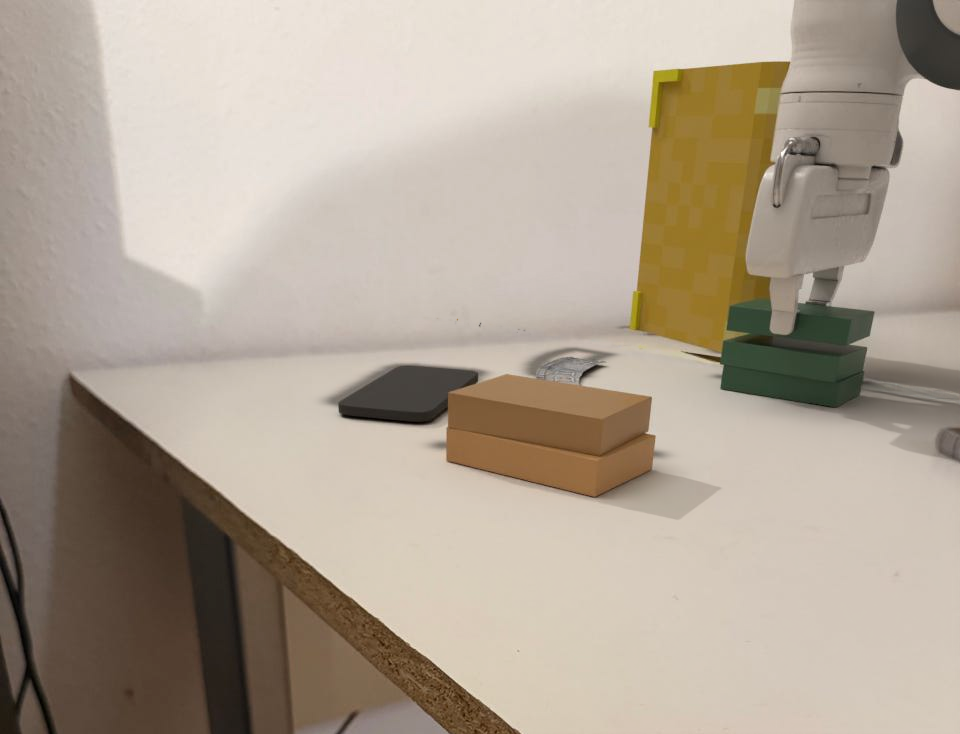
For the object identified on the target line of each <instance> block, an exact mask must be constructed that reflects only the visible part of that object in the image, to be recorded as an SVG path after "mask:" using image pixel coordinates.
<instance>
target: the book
mask: <svg viewBox="0 0 960 734" xmlns="http://www.w3.org/2000/svg"><path fill="white" fill-rule="evenodd" d="M789 66H790V61H781V60H779V61H776V60H775V61H756V62H748V63H747V62H746V63H736V64H735V63H734V64H725V65H723V64H722V65H711V66H702V67H690V68H671V69H660V70H659V69H658V70H653V73H652V86H651V97H650V107H649V119H648V128H651V136H650V146H649V147H650V148H649V159H648V167H647V179H646V189H645V201H644V211H643V221H642V230H641V231H642V232H641V243H640V251H639V261H638V263H639V264H638V275H637V283H636V284H637V285H636V290H633V291H632V299H631V301H632V302H631V310H630V321H629V330H633V331H641V332H645V333H647V334H651V335H655V336H659V337H663V338H665V339H666V338H667V339H670V340H675V341H678V342H682V343H685V344H688V345H692V346H696V347H699V348H703V349H707V350H711V351H714V352H718V353H720V354H721V353H722V346H723V340H727V339H731V338H735V337H738V336H742V335H746V334H750V333H743V332H736V331H728V330H726V328H727V322H728V315H729V308H730V305H734V304H738V303H742V302H746V301H751V300H755V299H759V298H760V299H769V300H771V298H770V290H769V287H770V280H771V277H764V276H756V275H750V274H749V273H748V271H747V267H746V249H747V243H748V238H749V233H750V228H751V222H752V218H753V213H754V208H755V203H756V199H757V195H758V191H759V187H760V184H761V181H762V178H763V175H764V173H765V172H766V170H767V169H768V168H769V167H770V166H772V165H775V163H772V162H771V161H770V157H771V151H772V144H773V137H774V131H775V125H776V118H777V112H778V105H779V98H780V95H781V94H780V92H781V88H782V85H783V82H784V80H785V77H786V75H787V72H788V69H789ZM680 352H681V353H685V354H689V355H691V356H696V357H699V358H702V359H705V360H706V359H707V360H710V361H713V362H716V363H720V361H721V356H716V355H709V354H703V353H695V352H689V351H682V350H680Z"/></svg>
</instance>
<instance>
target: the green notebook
mask: <svg viewBox="0 0 960 734" xmlns="http://www.w3.org/2000/svg"><path fill="white" fill-rule="evenodd" d="M805 303H806V302H805ZM805 303H803V302H798V310H800V316H799V321H798V327H797V330H796V331H795V332H793V333H791V334H788V335H781V334H774V333H772V332H771V331H770V322H771V316H772V306H771V300H769V299H760V298H759V299H755V300H751V301H746V302H742V303H738V304H734V305H730V308H729V315H728V322H727V328H726V330H728V331H736V332H743V333H751V334H759V335H766V336H774V337H781V338H789V339H797V340H804V341H812V342H819V343H827V344H835V345H842V346H847V345H852V344H854V343H856V342H859V341H861V340H864V339H866V338H868V337H869V338H870V336H871V332H872V328H873V322H874V317H875V313H876V312H875V311H874V310H869V309H867V310H866V309H859V308H848V307H839V306H832V305H831V306H823V305H814V304H805Z"/></svg>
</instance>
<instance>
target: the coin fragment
mask: <svg viewBox="0 0 960 734" xmlns="http://www.w3.org/2000/svg"><path fill="white" fill-rule="evenodd" d="M604 363H605V364H607V361H604V360H599V359H598V360H597V359H595V358H593V359H585V358H579V357H573V356H562V357H559V358H555V359H552V360H551V361H547V362H545V363H544V364H543V363H542V365H540V367H539V368H538V369H537V370H536V373H535V377H536V379H542V380H548V381H554V382H561V383H567V384H574V385H580V383H579V382H580V378H581V376H582V375H583V373H584V372H586V371H587V370H589V369H591V368H593V367H594V366H596V365H599V364H604Z"/></svg>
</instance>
